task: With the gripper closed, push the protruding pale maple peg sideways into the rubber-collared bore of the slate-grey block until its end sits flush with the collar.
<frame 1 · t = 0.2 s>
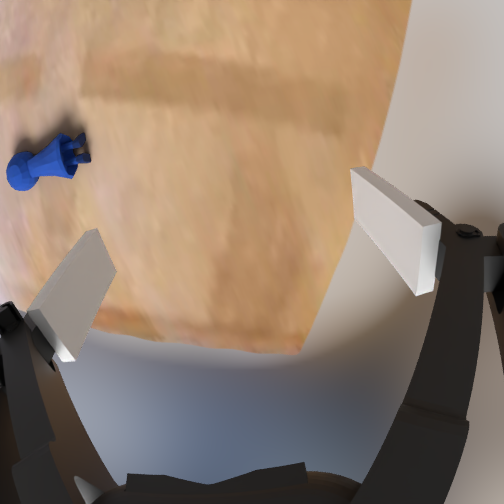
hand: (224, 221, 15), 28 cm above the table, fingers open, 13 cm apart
toy: (49, 159, 38), on the table
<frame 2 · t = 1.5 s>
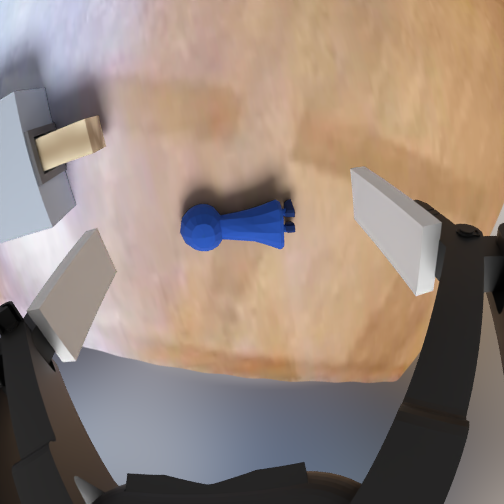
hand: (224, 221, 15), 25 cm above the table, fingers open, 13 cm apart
toy: (236, 218, 43), on the table
sleeve block: (28, 159, 35), on the table
peg: (44, 152, 31), point 4 cm above the table, slide at 0.0 cm
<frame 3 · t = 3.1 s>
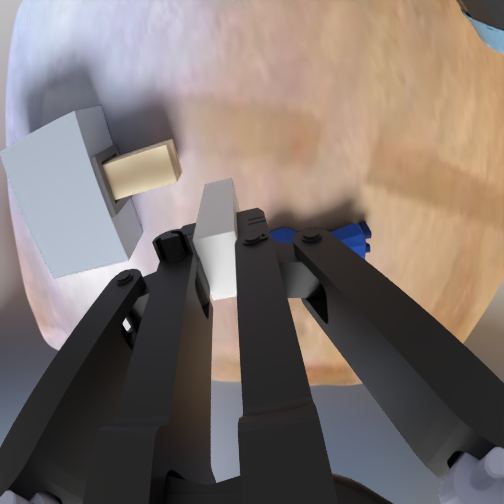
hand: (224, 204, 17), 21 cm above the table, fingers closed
toy: (313, 239, 43), on the table
sleeve block: (83, 183, 36), on the table
peg: (111, 178, 33), point 4 cm above the table, slide at 0.0 cm
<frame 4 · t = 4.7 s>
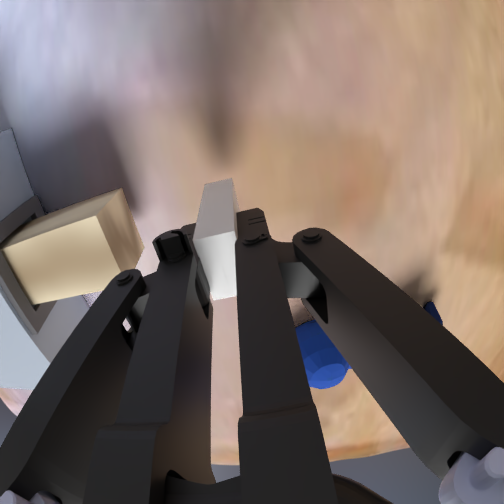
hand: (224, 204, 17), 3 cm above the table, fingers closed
toy: (359, 329, 28), on the table
sleeve block: (6, 252, 20), on the table
peg: (28, 261, 17), point 4 cm above the table, slide at 0.0 cm
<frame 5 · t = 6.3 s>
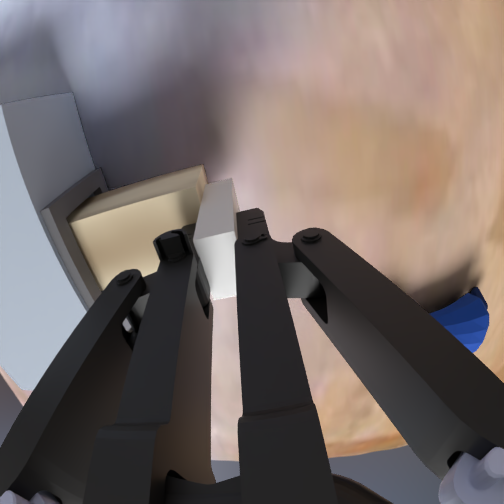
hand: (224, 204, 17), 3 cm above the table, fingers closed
toy: (414, 314, 27), on the table
sleeve block: (49, 235, 20), on the table
peg: (82, 244, 16), point 4 cm above the table, slide at 0.8 cm, touching gripper
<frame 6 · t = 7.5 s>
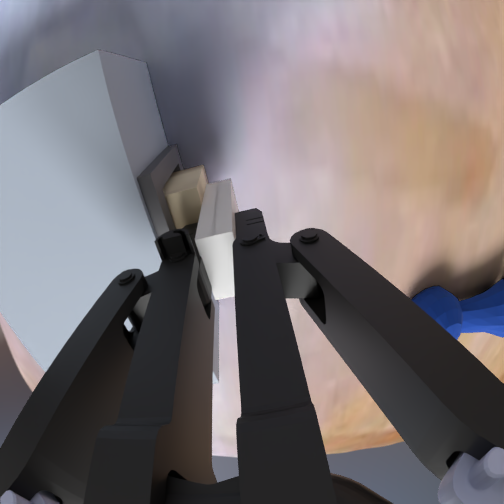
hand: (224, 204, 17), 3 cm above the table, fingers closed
toy: (456, 298, 27), on the table
sleeve block: (103, 219, 20), on the table
peg: (82, 246, 16), point 4 cm above the table, slide at 6.0 cm
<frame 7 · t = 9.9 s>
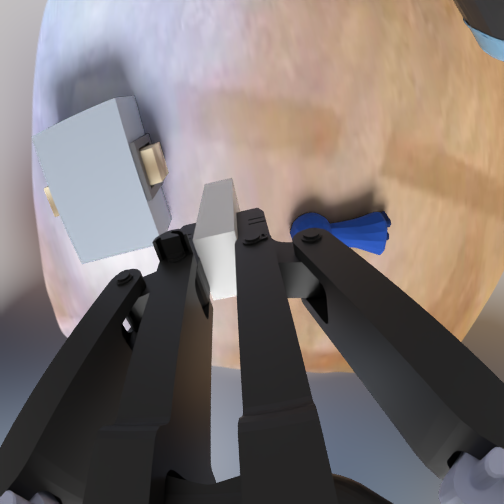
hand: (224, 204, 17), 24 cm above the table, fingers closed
toy: (337, 226, 46), on the table
sleeve block: (113, 171, 39), on the table
peg: (103, 179, 35), point 4 cm above the table, slide at 6.0 cm
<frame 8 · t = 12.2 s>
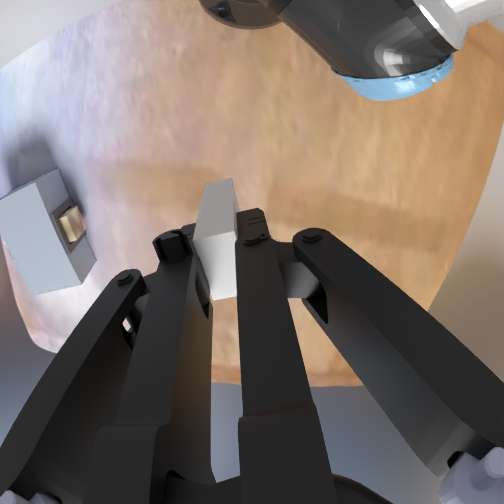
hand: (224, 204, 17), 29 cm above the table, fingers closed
sleeve block: (51, 224, 47), on the table
peg: (42, 234, 44), point 4 cm above the table, slide at 6.0 cm
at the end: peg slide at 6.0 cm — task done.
